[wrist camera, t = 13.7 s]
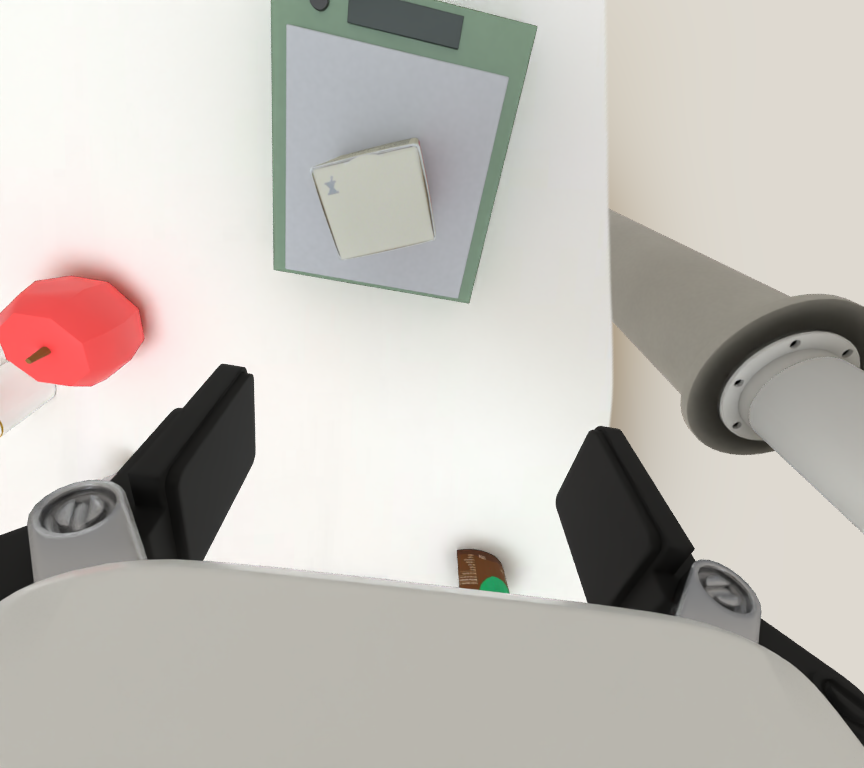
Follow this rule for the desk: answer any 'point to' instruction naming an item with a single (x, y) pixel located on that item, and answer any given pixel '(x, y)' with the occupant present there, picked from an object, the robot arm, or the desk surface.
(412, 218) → the small box
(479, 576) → the food container
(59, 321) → the apple
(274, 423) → the desk surface
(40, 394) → the tube
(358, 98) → the scale
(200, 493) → the robot arm
